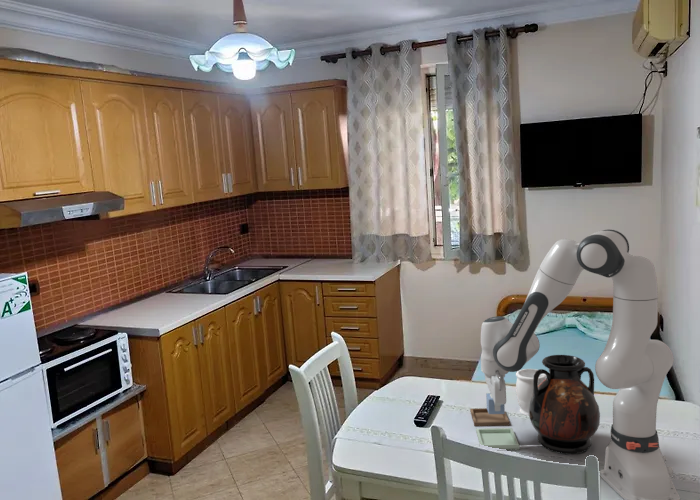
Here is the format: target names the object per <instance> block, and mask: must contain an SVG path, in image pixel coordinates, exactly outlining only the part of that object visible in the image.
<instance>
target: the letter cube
mask: <svg viewBox="0 0 700 500" xmlns="http://www.w3.org/2000/svg"><path fill="white" fill-rule="evenodd" d="M485 395H486V408H487V410H488V413H489V414H505V413H506V411H505V408H506V407H505V404H501V406H500V411H495V409H494V401H493V398H492V396H491V393H490V392H489V393H486V394H485Z"/></svg>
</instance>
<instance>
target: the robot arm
mask: <svg viewBox="0 0 700 500" xmlns="http://www.w3.org/2000/svg"><path fill="white" fill-rule="evenodd" d="M629 252H630V243H629V240H628V239H627V237H626V236H625V234H623V233H622V232H620V231H618V230H615V229H604V230H599V231H595V232H593V233H591V234H589V235H588V236H586V237H585V238H583V239H582V240H581V241H580V242H577V241H575V240H574V239H568V238H561V239H558V240H557V241H555V243H553V245H552V246H551V247H550V249H549V250H548V251H547V253H546V255H545V256H544V258H543V259H542V261H541V263H540V265H539V267H538V269H537V272H536V273H535V276H534V279H533V281H532V283H531V286H530V289H529V291H528V294H527V295H526V298H525V302H524V303H523V305H522V307H521V309H520V311H519V313H518V315H517V317H516V318H515V320H514V322H513V323H512V322H510V320H508V318H506V317H504V316H501V315H500V316H492V317H489V318H487V319H485V320H483V321H482V324H481V325H480V326H481V327H480V347H481V354H480V368H481V369H480V370H481V372H482V373H483V374H484V379H485V382H486V383H485V384H486V385H487V388H488V390H489V393H491V396H492V398H493V401H494V409H495V411H500V406H501V404H504V405H506V404H507V387H506V380H505V377H506V375H507V374H508V373H516V372H517V371H519V370H522V368H523V367H525V365H526V364H527V363H528V362H529V361H530V360H531V359H532V358H533V357H534V356H536V355H537V354H538V353H539V350H540V347H541V346H540V344H541V343H540V340H539V337H538V336H537V335H536V333H535V332H536V330H537V329H538V327H539V325H540V323H541V322H542V321H543V319H544V318H545V317H546V316H547V315H548V314H549V313H551V312H552V311H553V310H554V309H555V308H556V307H558V306H559V305H560V304H561V303H563V301H565V299H566V298H567V297H568V296H569V294H570V292H571V291H572V289H573V288H574V286H575V284H576V282H577V280H578V278H579V277H580V275H581V274H582V272H583V271H584V270H585V271H587V272H589V273H592V274H596V275H599V276H602V277H605V278H611V279H612V286H613V287H612V289H613V292H612V293H613V294H612V295H613V296H612V297H613V299H612V302H613V303H612V304H613V305H612V323H611V327H610V332H609V335H608V338H607V341H606V344H605V346H604V349H603V351H602V353H601V355H600V356H599V357H598V358H597V360H596V361H595V366H594V367H595V368H594V370H595V374H596V377H597V379H598V381H599V382H600V384H602V385H603V386H605V387H606V388H607V389H610V390H618V392H617V393H616V394H615V396H614V398H613V401H612V424H611V426H610V439H611V440H610V442H609V444H608V445H606V448H605V453H604V468H602V469H601V470H599V473H600V475H599V477H600V478H601V479H603V480H604V482H606V483H607V484H608V485H609V486H610V487H611V488H612V489H613V490H614V491H615V492H616V493H617V494H618V495H619V496H621V498H623V500H681V498H680V495H679V493H678V491H677V489H676V487H675V484H674V482H673V479H672V478H671V476H673V475H674V469H673V467H672V466H670V465H667V464H666V461H667V457H666V455H663V454H662V451H661V448H660V442H659V441H660V438H659V435H658V430H657V409H658V407H657V406H658V402H659V397H660V394H661V392H662V389H663V384H664V382H665V379H666V376H667V374H668V372H669V371H670V370H671V368H672V367H673V364H674V360H675V359H674V353H673V351H672V350H671V348H670V347H669V346H668V344H666V343H665V342H663V341H662V340H659V339H650V338H651V336H652V334H653V333H654V331H655V330H656V329H657V327H658V307H659V304H658V303H659V296H658V295H659V291H658V280H657V273H656V269H655V265H654V263H653V262H652V260H651V259H649V258H646V257H644V256H641V255H633V254H630V253H629Z"/></svg>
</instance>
